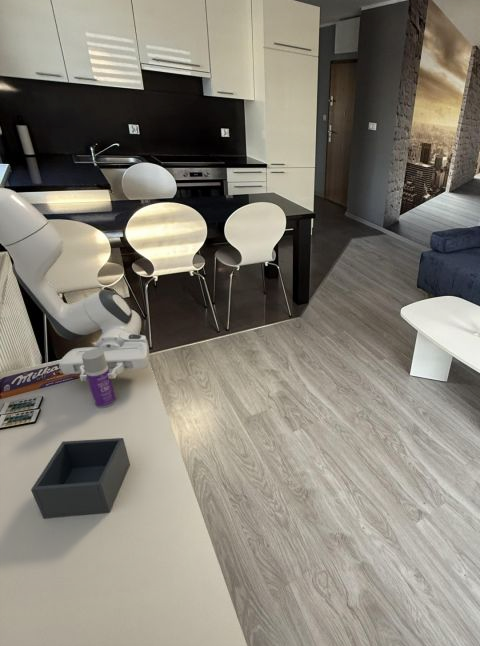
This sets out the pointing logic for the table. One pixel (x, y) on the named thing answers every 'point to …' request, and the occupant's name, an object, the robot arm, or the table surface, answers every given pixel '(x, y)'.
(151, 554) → the table surface
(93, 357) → the container
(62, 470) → the bin
